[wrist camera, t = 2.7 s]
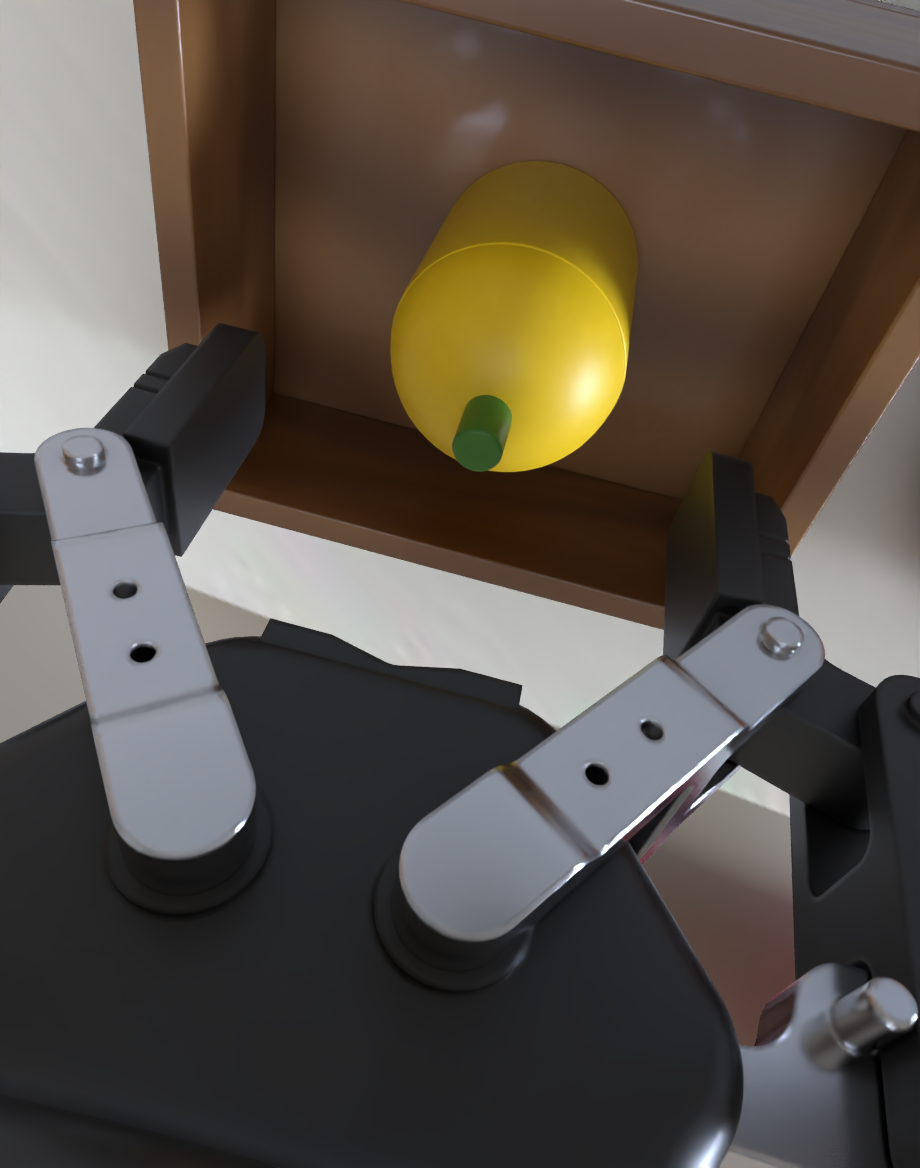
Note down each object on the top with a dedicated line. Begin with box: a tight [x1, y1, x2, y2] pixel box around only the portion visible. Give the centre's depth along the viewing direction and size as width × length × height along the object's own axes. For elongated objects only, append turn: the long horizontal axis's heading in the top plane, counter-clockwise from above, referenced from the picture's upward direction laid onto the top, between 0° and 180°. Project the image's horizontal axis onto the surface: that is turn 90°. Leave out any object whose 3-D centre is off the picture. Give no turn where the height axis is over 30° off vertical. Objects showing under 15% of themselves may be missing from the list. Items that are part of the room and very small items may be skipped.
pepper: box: [390, 161, 638, 472], centre depth 17 cm, size 5×5×8 cm
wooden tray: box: [133, 0, 920, 630], centre depth 18 cm, size 13×15×5 cm
